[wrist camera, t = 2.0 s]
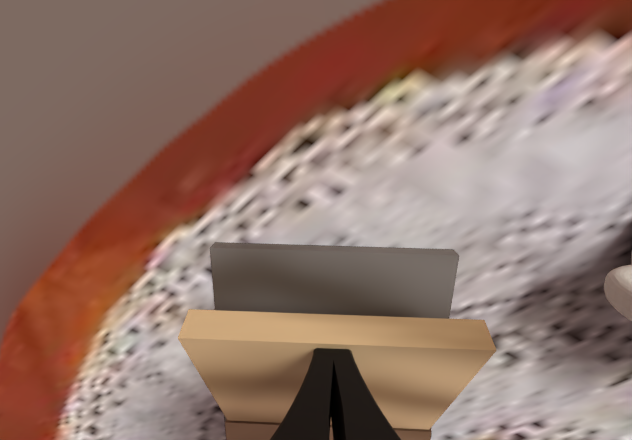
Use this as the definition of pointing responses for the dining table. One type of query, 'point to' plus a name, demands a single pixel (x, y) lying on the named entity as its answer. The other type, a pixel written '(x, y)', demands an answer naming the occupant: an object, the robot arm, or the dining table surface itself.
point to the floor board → (331, 291)
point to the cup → (620, 289)
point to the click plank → (337, 333)
